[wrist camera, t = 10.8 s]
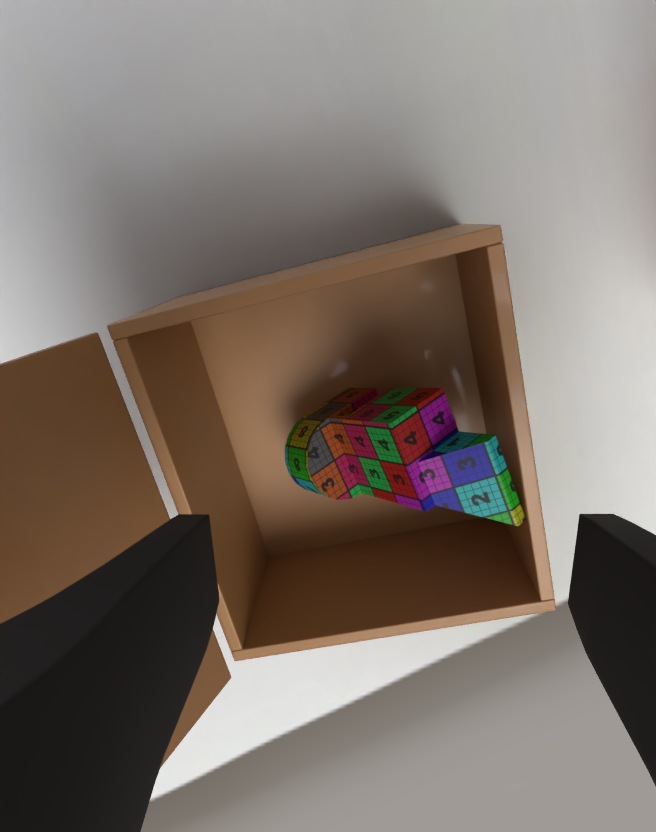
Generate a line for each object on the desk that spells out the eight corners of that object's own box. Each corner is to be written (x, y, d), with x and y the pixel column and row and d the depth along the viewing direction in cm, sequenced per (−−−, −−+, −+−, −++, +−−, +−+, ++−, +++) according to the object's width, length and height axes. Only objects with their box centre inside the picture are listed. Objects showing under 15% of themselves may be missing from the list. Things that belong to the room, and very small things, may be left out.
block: (391, 485, 20) (320, 539, 19) (349, 387, 19) (271, 436, 18) (525, 519, 15) (443, 596, 14) (479, 388, 14) (383, 456, 12)
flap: (231, 677, 16) (224, 675, 17) (98, 331, 13) (90, 333, 13) (107, 836, 13) (99, 831, 13) (-125, 406, 9) (-132, 407, 10)
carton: (263, 560, 22) (234, 662, 17) (175, 297, 19) (105, 325, 14) (509, 515, 21) (556, 610, 16) (461, 223, 17) (500, 224, 12)
